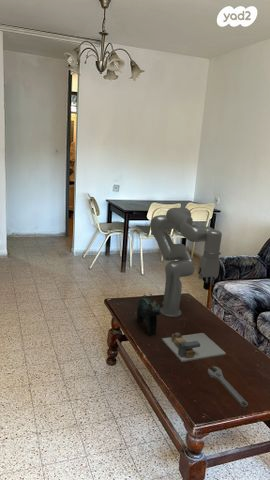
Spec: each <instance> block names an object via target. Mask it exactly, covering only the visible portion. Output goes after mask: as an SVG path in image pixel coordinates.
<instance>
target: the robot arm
mask: <svg viewBox="0 0 270 480" xmlns="http://www.w3.org/2000/svg"><path fill="white" fill-rule="evenodd" d="M193 222H194V220H193V217H192V212H191V210H190V209H189V208H188V207H171V208H169V209H168V210H167V211H166V212H165V214H160V215H155V216H153V217H152V218H151V220H150V225H149V226H150V231H151V234H152V236H153V237H154V239H155V241H156V243H157V245H158V248H159V251H160V254H161V256H162V258H163V260H164V261H167V262H168V263H166V265H165V268H164V269H165V270H164V271H165V282H164V283H165V284H164V285H165V286H164V295H163V301H161V304H162V307H160V315H162V316H164V317H168V318H178V317H181V315H182V310H181V309H180V303H181V297H182V290H183V289H182V288H183V285H182V281H181V279H180V278H183V277H190V276H192V275H193V274H194V273H195V264H194V262H193V258H192V256H191V254H190V252H189V249H188V247H187V246H186V245H185V244H183V243H174V242H173V239H172V237H171V236H170V234H168V232H167V231H165V230H176V229H179V231H180V235H181V236H182V237H183V238H185V239H186V240H188V241H190V242H193V243H197V242H198V243H199V242H204V246H203V247H204V248H203V256H201V257H200V260H199V263H198V268H197V274H198V277H197V278H198V279H200V280H202V281H203V289H204V290H205V291H209V290H210V289H211V284H212V282H213V280H215V279H218V276H219V273H220V265H221V264H220V255H221V254H222V253H221V252H220V250H221V243H222V235H223V234H222V232H221V231H220V230H217V229H214V228H213V227H210V226H193ZM169 261H170V262H169Z"/></svg>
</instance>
